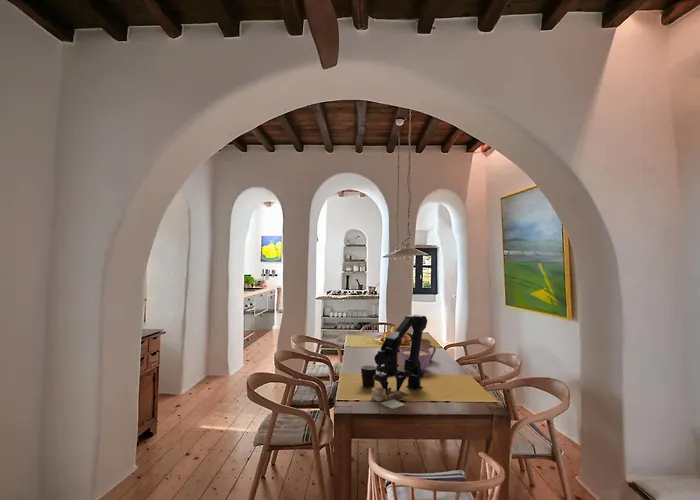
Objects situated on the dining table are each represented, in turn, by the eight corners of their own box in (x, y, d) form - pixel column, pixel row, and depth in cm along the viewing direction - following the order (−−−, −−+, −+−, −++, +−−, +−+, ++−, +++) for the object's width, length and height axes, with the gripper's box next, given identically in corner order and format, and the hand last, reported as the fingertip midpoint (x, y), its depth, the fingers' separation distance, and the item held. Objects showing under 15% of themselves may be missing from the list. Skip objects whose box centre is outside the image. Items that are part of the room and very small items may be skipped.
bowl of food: (429, 366, 257) (429, 348, 257) (432, 374, 237) (433, 355, 237) (399, 364, 259) (399, 347, 259) (399, 373, 239) (400, 354, 239)
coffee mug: (367, 389, 209) (367, 370, 210) (357, 385, 216) (357, 366, 216) (383, 385, 216) (383, 367, 216) (373, 381, 223) (373, 363, 223)
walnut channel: (389, 391, 206) (389, 386, 206) (403, 397, 197) (403, 392, 197) (374, 395, 201) (374, 390, 201) (388, 401, 192) (388, 396, 192)
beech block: (379, 396, 199) (379, 386, 199) (385, 399, 194) (385, 389, 195) (371, 398, 196) (371, 388, 196) (377, 401, 192) (377, 391, 192)
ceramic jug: (409, 362, 266) (409, 341, 266) (409, 357, 280) (409, 337, 280) (436, 364, 263) (436, 343, 263) (434, 358, 277) (435, 338, 277)
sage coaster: (393, 400, 193) (393, 399, 193) (404, 405, 186) (404, 404, 186) (381, 403, 188) (381, 402, 188) (392, 409, 182) (392, 407, 182)
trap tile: (398, 390, 208) (398, 390, 208) (408, 394, 201) (408, 394, 201) (391, 392, 205) (391, 391, 205) (401, 396, 198) (401, 396, 198)
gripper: (395, 356, 212) (394, 385, 212) (367, 360, 202) (367, 391, 201) (409, 360, 203) (409, 390, 203) (381, 365, 192) (381, 397, 192)
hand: (391, 392), depth 200 cm, fingers open, 8 cm apart
